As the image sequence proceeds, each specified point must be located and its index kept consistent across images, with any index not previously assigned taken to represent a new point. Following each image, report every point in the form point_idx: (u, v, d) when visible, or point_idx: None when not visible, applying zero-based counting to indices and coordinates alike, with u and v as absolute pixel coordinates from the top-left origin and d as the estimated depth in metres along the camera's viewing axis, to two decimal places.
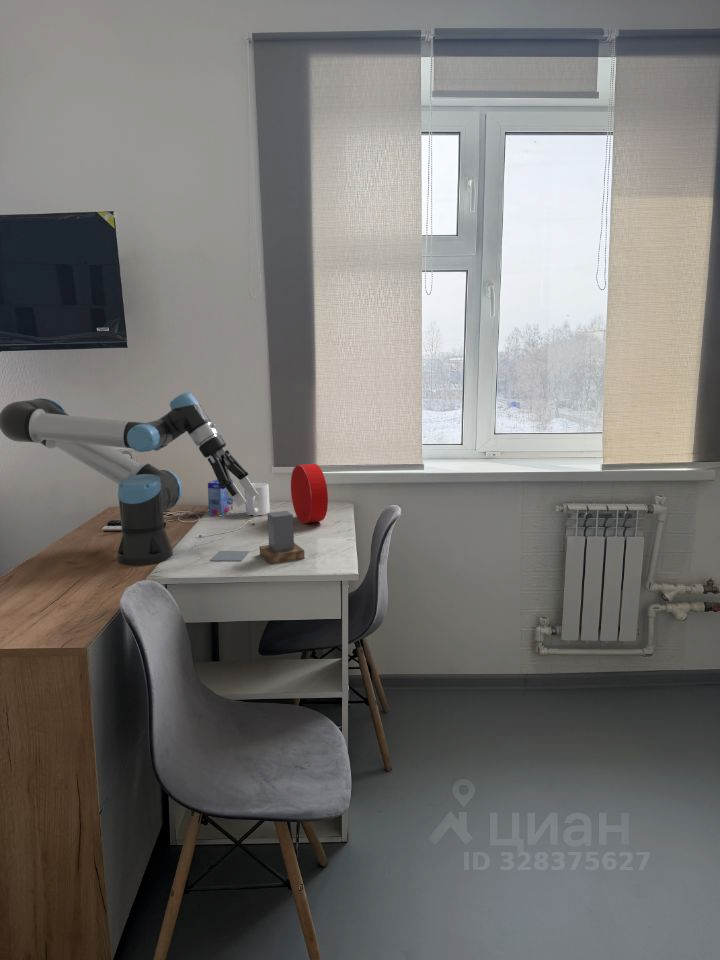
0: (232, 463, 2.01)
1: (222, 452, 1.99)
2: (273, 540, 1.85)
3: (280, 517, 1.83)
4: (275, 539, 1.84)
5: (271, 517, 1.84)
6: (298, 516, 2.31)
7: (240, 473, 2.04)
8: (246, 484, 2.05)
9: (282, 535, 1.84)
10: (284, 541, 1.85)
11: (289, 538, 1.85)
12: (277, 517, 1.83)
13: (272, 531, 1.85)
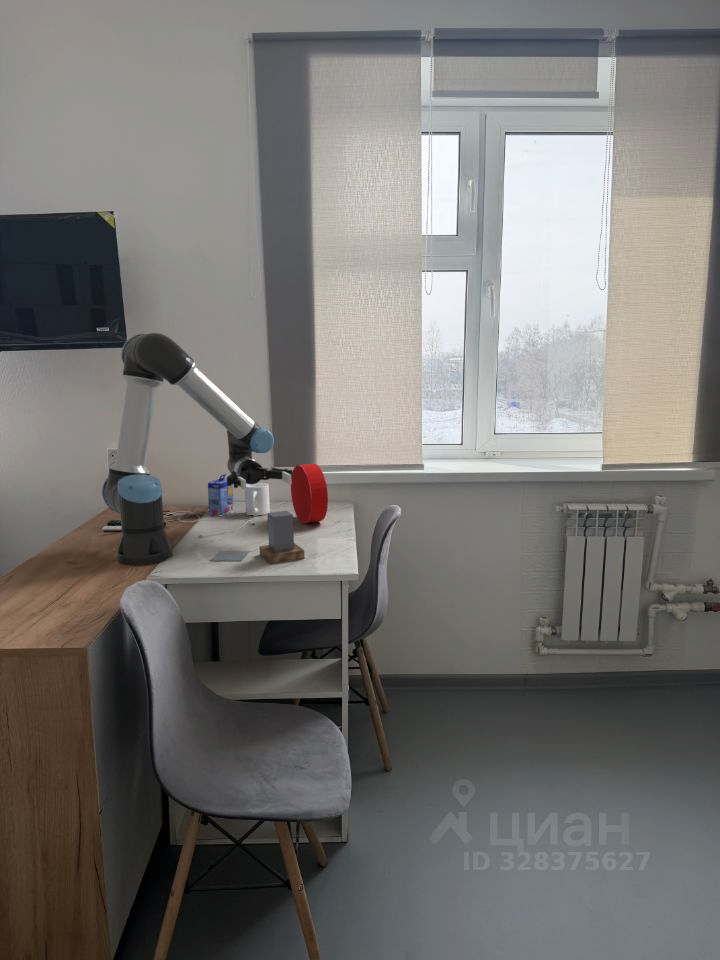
0: (247, 480, 2.03)
1: None
2: (273, 540, 1.85)
3: (280, 517, 1.83)
4: (275, 539, 1.84)
5: (271, 517, 1.84)
6: (298, 516, 2.31)
7: None
8: None
9: (282, 535, 1.84)
10: (284, 541, 1.85)
11: (289, 538, 1.85)
12: (277, 517, 1.83)
13: (272, 531, 1.85)
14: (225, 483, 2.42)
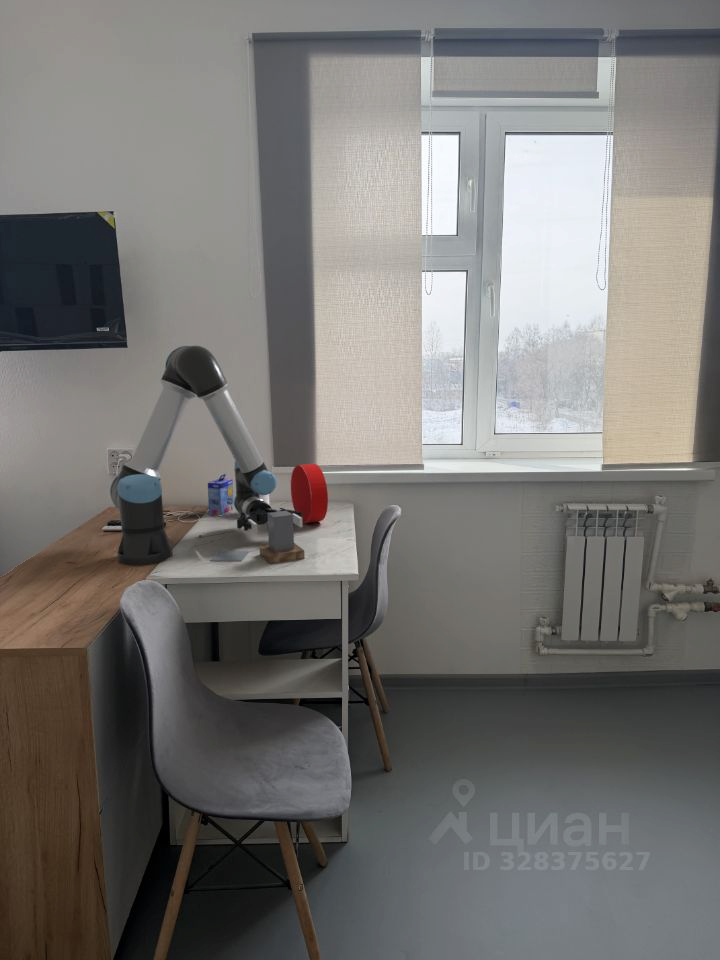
0: (257, 522, 2.01)
1: None
2: (273, 540, 1.85)
3: (280, 517, 1.83)
4: (275, 539, 1.84)
5: (271, 517, 1.84)
6: None
7: None
8: None
9: (282, 535, 1.84)
10: (284, 541, 1.85)
11: (289, 538, 1.85)
12: (277, 517, 1.83)
13: (272, 531, 1.85)
14: (225, 483, 2.42)
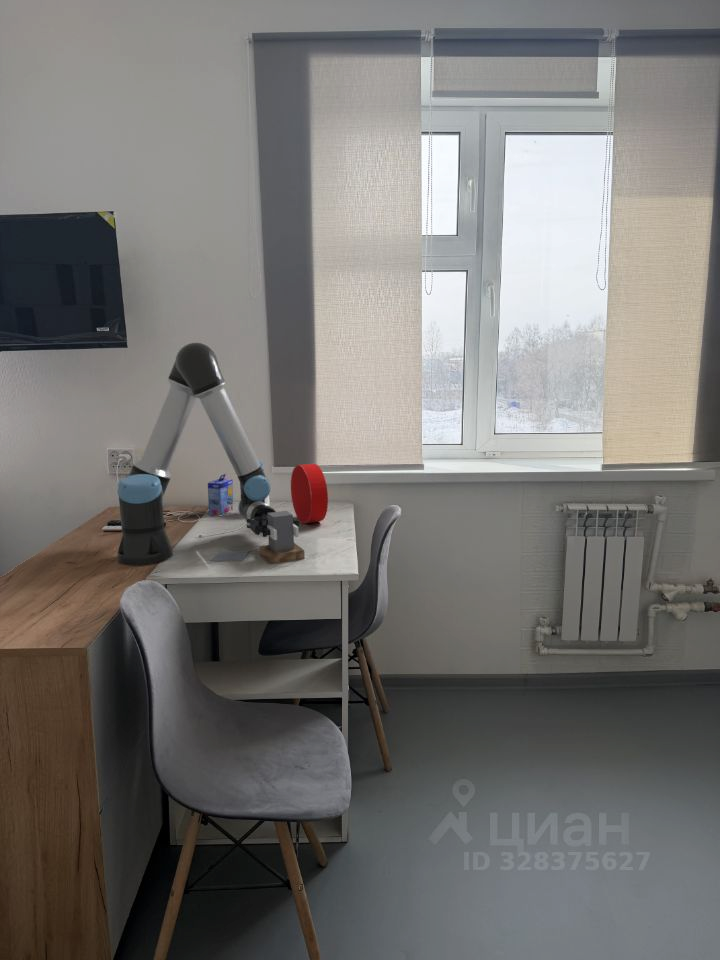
0: None
1: None
2: (273, 540, 1.85)
3: (280, 517, 1.83)
4: None
5: (271, 517, 1.84)
6: (298, 516, 2.31)
7: None
8: None
9: (282, 535, 1.84)
10: (284, 541, 1.85)
11: (289, 538, 1.85)
12: (277, 517, 1.83)
13: None
14: (225, 483, 2.42)
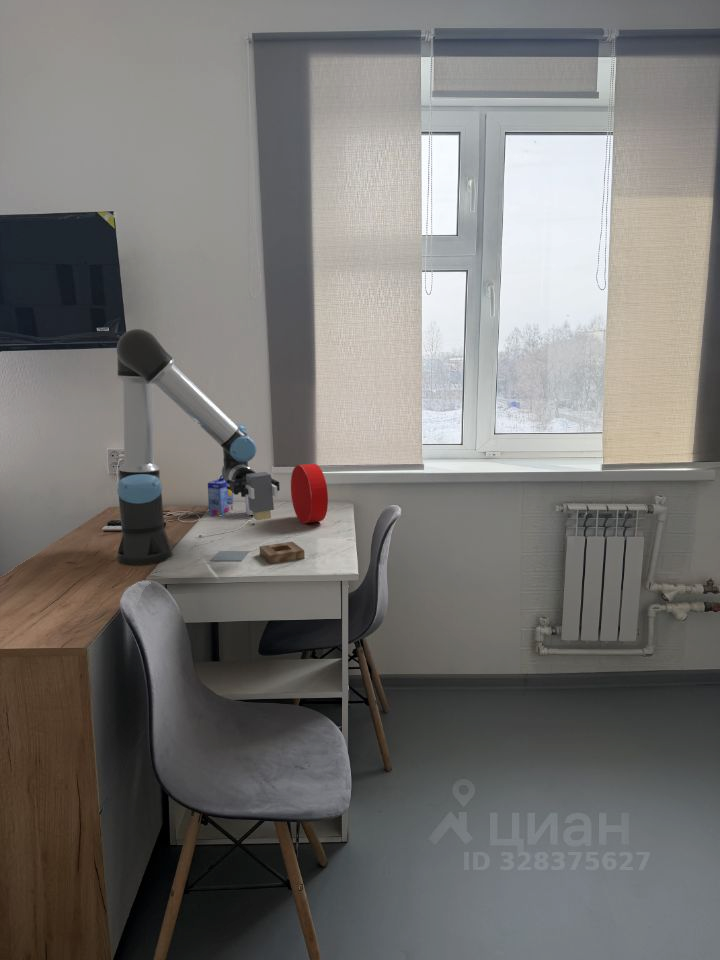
0: None
1: None
2: (252, 501, 1.84)
3: (258, 477, 1.82)
4: (254, 499, 1.82)
5: (249, 478, 1.83)
6: (298, 516, 2.31)
7: None
8: None
9: (261, 495, 1.83)
10: (263, 501, 1.84)
11: (268, 499, 1.84)
12: (255, 477, 1.82)
13: None
14: (225, 483, 2.42)
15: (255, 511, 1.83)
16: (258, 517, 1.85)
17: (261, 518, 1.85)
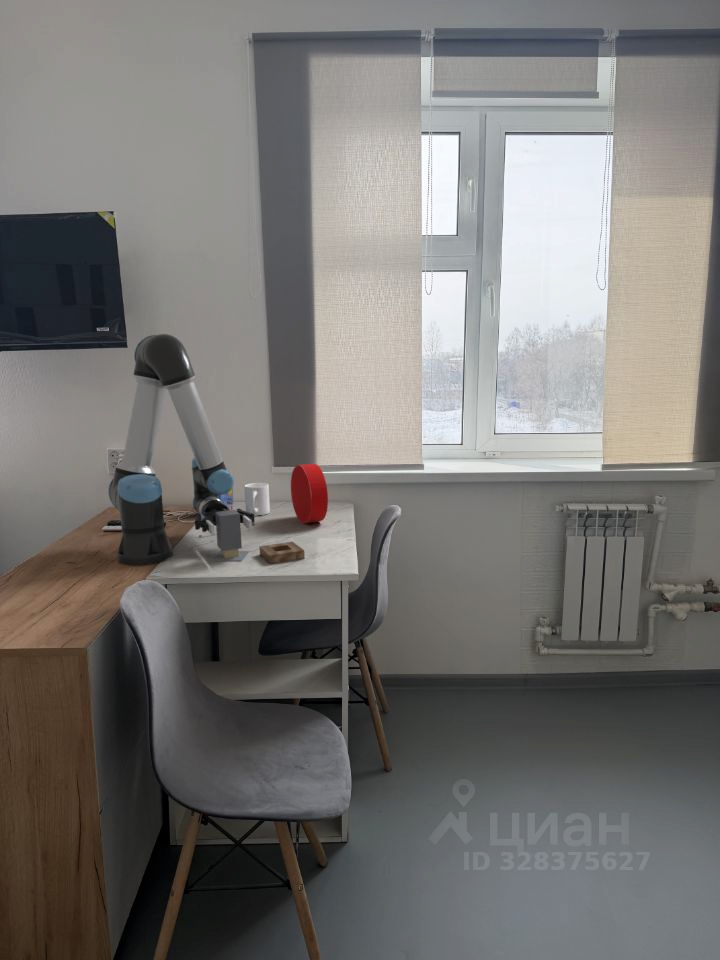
0: (213, 523, 1.95)
1: None
2: (220, 539, 1.86)
3: (227, 516, 1.85)
4: (222, 538, 1.85)
5: (218, 516, 1.85)
6: (298, 516, 2.31)
7: None
8: None
9: (229, 534, 1.86)
10: (231, 540, 1.86)
11: (236, 537, 1.87)
12: (224, 516, 1.84)
13: (219, 530, 1.86)
14: None
15: (223, 549, 1.86)
16: (226, 555, 1.87)
17: (229, 556, 1.88)
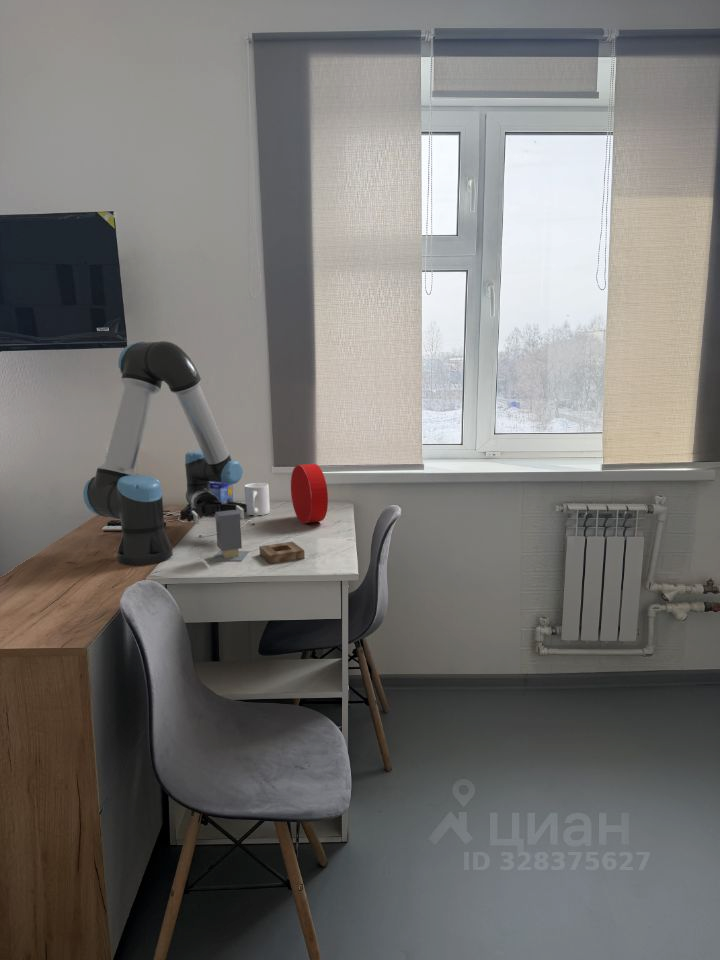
0: (202, 513, 2.06)
1: None
2: (220, 539, 1.86)
3: (227, 516, 1.85)
4: (222, 538, 1.85)
5: (218, 516, 1.85)
6: (298, 516, 2.31)
7: None
8: None
9: (229, 534, 1.86)
10: (231, 540, 1.86)
11: (236, 537, 1.87)
12: (224, 516, 1.84)
13: (219, 530, 1.86)
14: None
15: (223, 549, 1.86)
16: (226, 555, 1.87)
17: (229, 556, 1.88)
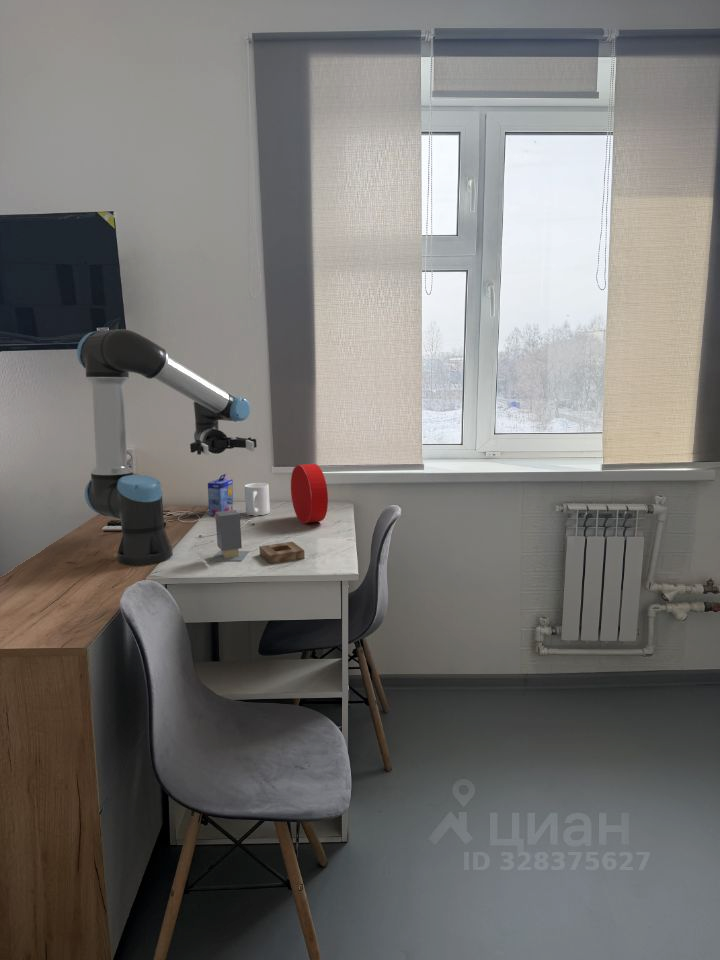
0: (211, 448, 2.05)
1: None
2: (220, 539, 1.86)
3: (227, 516, 1.85)
4: (222, 538, 1.85)
5: (218, 516, 1.85)
6: (298, 516, 2.31)
7: None
8: None
9: (229, 534, 1.86)
10: (231, 540, 1.86)
11: (236, 537, 1.87)
12: (224, 516, 1.84)
13: (219, 530, 1.86)
14: (225, 483, 2.42)
15: (223, 549, 1.86)
16: (226, 555, 1.87)
17: (229, 556, 1.88)
